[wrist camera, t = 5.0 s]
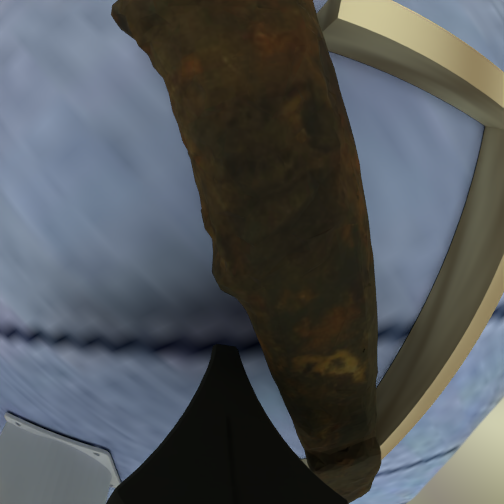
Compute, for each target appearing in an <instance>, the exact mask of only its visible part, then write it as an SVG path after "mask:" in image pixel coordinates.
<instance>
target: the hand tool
mask: <svg viewBox="0 0 504 504" xmlns="http://www.w3.org/2000/svg"><path fill="white" fill-rule="evenodd" d="M111 16H112V17H113V19H114V20H115V22H116V23H117V25H118V26H119V27H120V29H121V30H123V31H124V32H125V33H127V34H128V35H129V36H131V37H132V38H133V39H135V40H136V42H137V44H138V46H139V47H140V48H141V49H142V50H143V51H144V52H146V53H147V54H148V56H149V58H150V60H151V62H152V65H153V67H154V68H155V69H156V70H157V72H158V73H159V74H160V75H161V76H162V77H163V79H164V81H165V84H166V87H167V90H168V92H169V97H170V101H171V106H172V111H173V114H174V116H175V118H176V121H177V123H178V126H179V130H180V133H181V137H182V141H183V143H184V145H185V146H186V148H187V150H188V155H189V157H190V159H191V163H192V168H193V173H194V178H195V182H196V185H197V188H198V191H199V195H200V201H201V207H202V209H201V213H202V218H203V223H204V227H205V230H206V231H207V232H208V234H209V235H210V236H211V238H212V242H213V264H212V274H213V276H214V278H215V279H216V281H217V283H218V285H219V287H220V289H221V290H222V291H224V292H226V293H228V294H230V295H232V296H234V297H235V298H236V299H238V301H239V302H240V303H241V304H242V306H243V307H244V308H245V310H246V311H247V314H248V316H249V318H250V320H251V323H252V325H253V328H254V331H255V333H256V336H257V338H258V340H259V343H260V345H261V348H262V350H263V353H264V356H265V359H266V362H267V364H268V367H269V370H270V372H271V375H272V377H273V379H274V381H275V383H276V384H277V386H278V389H279V391H280V394H281V396H282V398H283V401H284V403H285V405H286V407H287V410H288V412H289V414H290V416H291V418H292V421H293V424H294V427H295V429H296V432H297V435H298V437H299V440H300V442H301V444H302V446H303V448H304V450H305V455H306V459H307V464H308V466H309V469H310V470H311V471H312V472H313V473H314V474H316V475H317V476H318V477H319V478H320V479H321V480H322V481H323V482H324V483H326V484H327V485H328V486H329V487H330V488H332V489H333V490H334V491H335V492H337V493H338V494H339V495H341V496H342V497H343V498H345V499H346V500H347V501H348V503H350V502H352V501H354V500H355V499H357V498H359V497H362V496H363V495H364V494H366V493H367V492H368V491H369V490H370V488H371V485H372V482H373V480H374V477H375V475H376V474H377V472H378V471H379V469H380V465H381V449H380V445H379V440H378V437H377V434H376V431H375V430H376V423H377V410H376V378H377V373H378V368H377V339H378V322H377V302H376V287H375V274H374V260H373V252H372V246H371V239H370V229H369V220H368V214H367V207H366V202H365V196H364V190H363V185H362V180H361V171H360V164H359V159H358V154H357V150H356V145H355V141H354V137H353V134H352V130H351V126H350V123H349V119H348V116H347V112H346V109H345V106H344V102H343V99H342V96H341V93H340V89H339V85H338V81H337V77H336V73H335V69H334V66H333V63H332V61H331V58H330V55H329V52H328V48H327V45H326V41H325V38H324V35H323V32H322V30H321V27H320V24H319V21H318V17H317V14H316V10H315V7H314V3H313V0H118V1H117V2H115V3H114V4H113V5H112V12H111Z"/></svg>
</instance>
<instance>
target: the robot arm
mask: <svg viewBox="0 0 504 504" xmlns="http://www.w3.org/2000/svg"><path fill="white" fill-rule="evenodd" d="M4 417H5V419H6V421H7V423H6V425H5V427H4V429H3V431H2V433H1V435H0V504H349V503H348V501H347V500H346V499H345V498H343V497H342V496H341V495H339V494H338V493H337V492H335V491H334V490H333V489H332V488H330V487H329V486H328V485H327V484H326V483H324V482H323V481H322V480H321V479H320V478H319V477H318V476H317V475H316V474H314V473H313V472H312V471H311V470H310V469H309V468H308V467H307V466H306V465H305V463H304V462H303V461H302V460H301V459H300V458H299V457H298V456H297V455H296V454H295V453H294V452H293V451H292V449H291V448H290V447H289V446H288V444H287V443H286V442H285V441H284V439H283V438H282V437H281V435H280V434H279V432H278V431H277V430H276V428H275V427H274V425H273V424H272V422H271V421H270V419H269V418H268V416H267V414H266V413H265V411H264V409H263V407H262V406H261V404H260V402H259V400H258V398H257V396H256V394H255V392H254V390H253V388H252V386H251V384H250V382H249V379H248V377H247V375H246V372H245V370H244V367H243V364H242V361H241V358H240V355H239V351H238V349H237V348H236V347H235V346H227V345H220V344H216V345H214V346H213V348H212V354H211V359H210V362H209V365H208V368H207V370H206V373H205V375H204V377H203V379H202V381H201V383H200V386H199V388H198V390H197V391H196V393H195V395H194V397H193V398H192V400H191V402H190V404H189V405H188V407H187V409H186V410H185V412H184V413H183V415H182V416H181V418H180V419H179V421H178V422H177V424H176V425H175V426H174V428H173V429H172V430H171V432H170V433H169V434H168V435H167V437H166V438H165V439H164V441H163V442H162V443H161V444H160V445H159V446H158V448H157V449H156V450H155V451H154V452H153V453H152V454H151V455H150V456H149V457H148V458H147V459H146V460H145V461H144V463H143V464H142V465H141V466H140V467H139V468H137V469H136V470H135V471H134V472H133V473H132V474H131V475H130V476H129V477H127V478H126V479H125V480H124V481H123V482H122V483H121V481H120V479H119V476H118V474H117V471H116V469H115V466H114V463H113V460H112V458H111V455H110V453H109V452H108V451H106V450H104V449H100V448H97V447H94V446H90V445H87V444H84V443H81V442H78V441H75V440H72V439H69V438H66V437H64V436H61V435H58V434H56V433H53V432H50V431H48V430H45V429H43V428H40V427H38V426H36V425H33V424H31V423H29V422H27V421H24V420H22V419H20V418H18V417H16V416H14V415H12V414H10V413H5V415H4ZM109 486H110V487H114V488H115V490H114V492H113V493H112V495H111V496H110V498H109V499H108V501H107V496H108V491H109ZM106 501H107V503H106Z"/></svg>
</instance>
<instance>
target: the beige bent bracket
mask: <svg viewBox="0 0 504 504" xmlns="http://www.w3.org/2000/svg"><path fill="white" fill-rule="evenodd" d="M317 17H318V21H319V24H320V27H321V30H322V32H323V35H324V38H325V41H326V45H327V48H328V51H330V52H333V53H336V54H339V55H342V56H345V57H348V58H351V59H353V60H356V61H359V62H361V63H364V64H367V65H369V66H372V67H374V68H377V69H379V70H382V71H384V72H386V73H389V74H391V75H393V76H395V77H398V78H400V79H402V80H404V81H406V82H408V83H410V84H413V85H415V86H417V87H419V88H421V89H423V90H425V91H427V92H428V93H430V94H432V95H434V96H436V97H438V98H440V99H442V100H443V101H445V102H447V103H449V104H450V105H452V106H454V107H456V108H457V109H459V110H461V111H462V112H464V113H466V114H467V115H469V116H470V117H472V118H474V119H475V120H477V121H478V122H480V123H481V124H483V125H484V126H485V130H484V135H483V140H482V145H481V149H480V153H479V158H478V162H477V166H476V169H475V173H474V177H473V180H472V184H471V187H470V191H469V194H468V197H467V201H466V204H465V207H464V210H463V213H462V216H461V219H460V222H459V224H458V227H457V230H456V233H455V235H454V238H453V241H452V243H451V246H450V248H449V251H448V253H447V256H446V258H445V261H444V263H443V266H442V268H441V270H440V273H439V275H438V277H437V279H436V282H435V284H434V286H433V288H432V290H431V292H430V294H429V297H428V299H427V301H426V303H425V305H424V307H423V309H422V311H421V313H420V315H419V317H418V319H417V321H416V322H415V324H414V326H413V328H412V330H411V332H410V334H409V335H408V337H407V339H406V341H405V343H404V344H403V346H402V348H401V350H400V351H399V353H398V355H397V356H396V358H395V360H394V361H393V363H392V365H391V366H390V368H389V370H388V371H387V373H386V374H385V376H384V378H383V379H382V381H381V382H380V384H379V385H378V387H377V388H376V410H377V423H376V430H375V431H376V434H377V437H378V440H379V445H380V449H381V460H382V459H383V458H384V457H385V456H386V455H387V454H388V453H389V452H390V451H391V450H392V449H393V448H394V447H395V446H396V445H397V444H398V443H399V442H400V441H401V440H402V439H403V438H404V437H405V435H406V434H407V433H408V432H409V431H410V430H411V429H412V428H413V427H414V426H415V424H416V423H417V422H418V421H419V420H420V419H421V417H422V416H423V415H424V414H425V413H426V411H427V410H428V409H429V408H430V407H431V405H432V404H433V403H434V402H435V400H436V399H437V398H438V397H439V395H440V394H441V393H442V391H443V390H444V389H445V387H446V386H447V385H448V383H449V382H450V381H451V379H452V378H453V376H454V375H455V374H456V372H457V371H458V369H459V368H460V366H461V365H462V363H463V362H464V360H465V359H466V357H467V356H468V354H469V353H470V351H471V350H472V348H473V346H474V345H475V343H476V342H477V340H478V338H479V337H480V335H481V333H482V332H483V330H484V328H485V326H486V325H487V323H488V321H489V319H490V317H491V316H492V314H493V312H494V310H495V308H496V306H497V304H498V302H499V300H500V298H501V296H502V294H503V292H504V72H503V71H502V70H500V69H499V68H498V67H497V66H496V65H494V64H493V63H492V62H490V61H489V60H488V59H487V58H485V57H484V56H483V55H481V54H480V53H479V52H477V51H476V50H475V49H473V48H472V47H470V46H469V45H468V44H466V43H465V42H463V41H462V40H460V39H459V38H457V37H456V36H454V35H453V34H451V33H450V32H448V31H447V30H445V29H443V28H442V27H440V26H438V25H437V24H435V23H433V22H432V21H430V20H428V19H426V18H425V17H423V16H421V15H419V14H417V13H416V12H414V11H412V10H410V9H408V8H406V7H404V6H402V5H400V4H398V3H396V2H394V1H392V0H328V1H327V2H326V3H325V5H324V6H323V7H322V8H321V9H320V10H319V12H318V13H317ZM301 460H302V461H303V462H304V463H305V465H306V466H307V467H308V468H309V466H308V464H307V459H301Z"/></svg>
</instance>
